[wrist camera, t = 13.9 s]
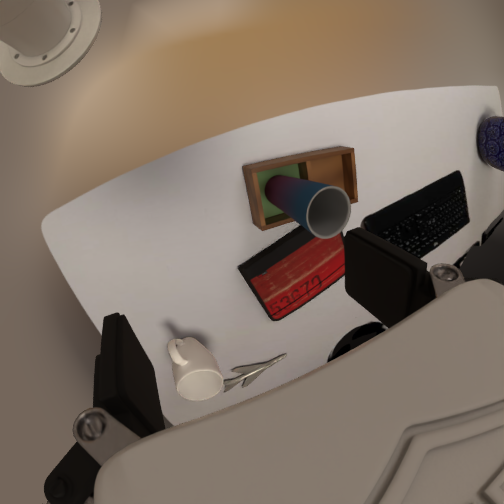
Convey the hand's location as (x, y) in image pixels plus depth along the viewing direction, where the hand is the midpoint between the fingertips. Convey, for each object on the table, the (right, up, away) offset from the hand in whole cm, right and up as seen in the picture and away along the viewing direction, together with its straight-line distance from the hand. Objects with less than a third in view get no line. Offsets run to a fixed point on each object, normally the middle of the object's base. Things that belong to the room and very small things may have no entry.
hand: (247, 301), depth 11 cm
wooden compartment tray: (+9, +14, +39) cm, 42 cm away
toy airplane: (-1, -26, +52) cm, 59 cm away
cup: (+5, +12, +37) cm, 39 cm away
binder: (+10, -1, +46) cm, 47 cm away
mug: (-13, -15, +43) cm, 47 cm away
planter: (+77, +39, +56) cm, 103 cm away
